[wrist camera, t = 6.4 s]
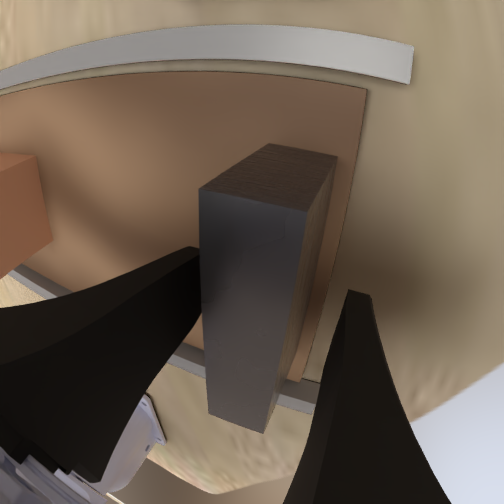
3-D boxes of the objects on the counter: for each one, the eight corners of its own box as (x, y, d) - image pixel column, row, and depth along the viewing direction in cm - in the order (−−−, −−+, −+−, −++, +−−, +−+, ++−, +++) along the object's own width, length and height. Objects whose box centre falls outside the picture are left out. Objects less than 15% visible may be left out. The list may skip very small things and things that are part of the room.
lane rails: (317, 395, 15) (311, 414, 14) (-32, 234, 24) (-39, 239, 23) (409, 51, 7) (414, 46, 6) (-59, 101, 16) (-68, 105, 15)
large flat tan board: (302, 374, 14) (270, 457, 11) (5, 248, 21) (-34, 276, 17) (367, 89, 8) (358, 95, 4) (-25, 103, 14) (-76, 123, 10)
